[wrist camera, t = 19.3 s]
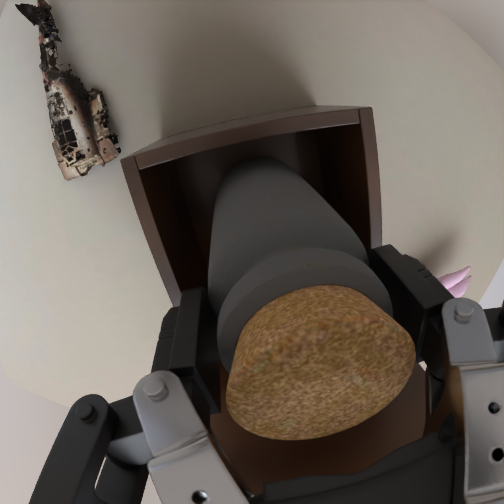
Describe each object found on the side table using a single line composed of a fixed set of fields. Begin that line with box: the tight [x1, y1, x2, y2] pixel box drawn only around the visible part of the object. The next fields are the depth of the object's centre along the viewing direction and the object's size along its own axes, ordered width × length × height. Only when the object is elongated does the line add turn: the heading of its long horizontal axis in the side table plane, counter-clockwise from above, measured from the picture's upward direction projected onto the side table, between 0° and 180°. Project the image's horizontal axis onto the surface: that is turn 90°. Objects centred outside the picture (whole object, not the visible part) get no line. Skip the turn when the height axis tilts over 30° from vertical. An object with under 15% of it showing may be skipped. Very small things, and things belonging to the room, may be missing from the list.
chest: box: [120, 106, 382, 322], centre depth 20 cm, size 14×13×10 cm
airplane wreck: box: [15, 0, 121, 181], centre depth 15 cm, size 6×18×6 cm, turn 17°
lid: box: [210, 360, 426, 495], centre depth 12 cm, size 14×13×5 cm
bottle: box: [208, 157, 416, 440], centre depth 13 cm, size 6×6×15 cm
